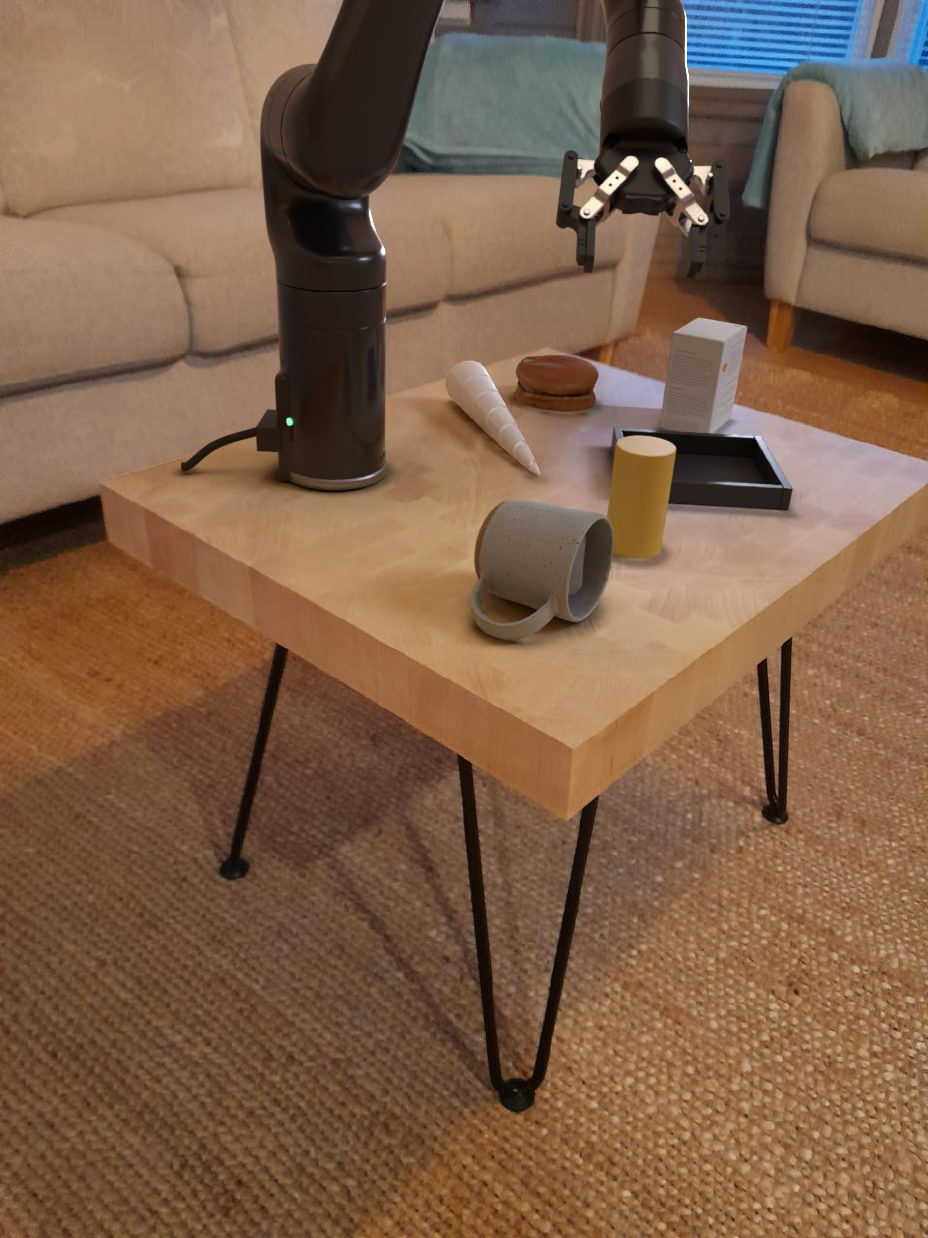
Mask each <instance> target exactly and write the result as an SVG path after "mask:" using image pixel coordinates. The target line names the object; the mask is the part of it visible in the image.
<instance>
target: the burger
mask: <svg viewBox="0 0 928 1238" xmlns="http://www.w3.org/2000/svg"><path fill="white" fill-rule="evenodd" d="M515 375H516V378H517V385H516V386H517V387H516V389H515V390H514V393H513V398H514V401H516V402H519V403H522V404H524V405H527V406H531V407H538V408H542V409H545V410H552V411H561V412H576V411H583V410H586V409H590V408H592V407H593V406H594V405H595V404H596V400H597V397H596V394H595V391H594V388H595V387H596V384H597V382H598V379H599V369H597V367H596V366H595V365H594V364H592V363H591V362H590V361H588V360H586V359H583V358H580V357H576V356H573V355H566V354H546V355H532V356H531V355H530V356H526V357H524V358H522V359H521V360H520V361H519V362H518V364H517V365H516V369H515Z"/></svg>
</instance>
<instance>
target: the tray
mask: <svg viewBox="0 0 928 1238" xmlns="http://www.w3.org/2000/svg"><path fill="white" fill-rule="evenodd" d="M611 436H612V437H611V444H610V445H611V446H610V449H611V453H612V458H613V459H614V456H615V448H616V442H617V441H618V440H619V439H621V438H623V437H628V436H651V437H656V438H660V439H663V440H666V441H668V442H670V443H672V444H673V445H674V446H675V447H676V455H675V461H674V468H673V475H672V481H671V488H670V494H669V501H668V505H669V504H670V505H687V506H704V507H720V508H737V509H738V508H739V509H756V510H774V511H789V508H790V504H791V499H792V496H793V490H794V488H793V487H792V485H791V484H790V482H789V480H788V479H787V477H786V475H785V474H784V472H783V470H782V468H781V467H780V465H779V464H778V462H777V460H776V459H775V457H774V455H773V454H772V452H771V450H770V449H769V447H768V445H767V443H766V442H765V440H764V438H763V437H762V436H761V435H750V434H749V435H745V434H733V433H730V434H729V433H715V432H714V433H697V432H679V431H675V430H662V429H660V430H659V429H644V428H624V427H623V428H622V427H613V429H612V435H611Z"/></svg>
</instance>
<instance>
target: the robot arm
mask: <svg viewBox="0 0 928 1238" xmlns="http://www.w3.org/2000/svg"><path fill="white" fill-rule="evenodd" d="M446 1H447V0H342V1H341V5H340V7H339V10H338V12H337V15H336V18H335V20H334V23H333V25H332V28H331V31H330V34H329V36H328V38H327V41H326V43H325V46H324V47H323V50H322V52H321V54H320V57H319V58H318V61H317V63H303V64H300V65H296V66H294V67H291V68H289V69H288V70H286V71H284V72H283V73H281V74H280V75H279V76H278V77H277V78H276V79H275V81H274V82H273V83H272V84H271V86H270V88H269V90H268V91H267V93H266V96H265V98H264V100H263V104H262V109H261V113H260V122H259V149H260V166H261V167H260V168H261V179H262V181H261V182H262V194H263V203H264V204H263V205H264V207H263V208H264V218H265V229H266V234H267V238H268V242H269V245H270V248H271V252H272V255H273V260H274V268H275V269H274V270H275V271H274V272H275V281H276V282H275V283H276V302H277V303H276V305H277V322H278V323H277V326H278V327H277V328H278V329H277V330H278V331H277V332H278V351H279V352H278V353H279V354H278V355H279V356H278V357H279V370H278V371H277V373H276V374H275V376H274V396H275V409H271V408H269V409H266V411H265V412H264V413H263V415H262V417H261V418H260V420H259V421H258V423H257V424H256V426H255V427H252V428H248V429H243V430H240V431H237V432H233V433H229V434H227V435H224V436H222V437H219V438H216V439H214V440H212V441H210V442H209V443H207V444H206V445H204V446H203V447H202V448H201V449H200V450H198V451H197V452H195V454H194V455H192V457H190V458H189V459H187V460H186V461H181V462H180V470H181V472H188V471H190V470H192V469H194V468H195V467H196V466H197V465H198V464H199V463H200V462H202V461H203V460H204V459H205V458H206V457H207V456H209V455H210V454H212V453H213V452H215V451H216V450H219V449H220V448H223V447H226V446H227V445H230V444H234V443H237V442H242V441H244V440H248V439H252V438H255V441H256V451H257V452H264V453H265V452H267V453H277V461H278V463H277V464H278V480H279V481H280V482H281V481H282V482H290V483H294V484H296V485H298V486H301V487H305V488H309V489H316V490H323V491H324V490H325V491H346V490H354V489H360V488H364V487H365V488H366V487H368V486H371V485H374V484H376V483H378V482H379V481H381V480H382V479H384V477H385V475H386V473H387V459H386V455H387V454H386V451H387V450H386V393H387V391H386V388H387V387H386V386H387V385H386V382H387V379H386V378H387V371H386V370H387V253H386V249H385V247H384V244H383V243H382V241H381V239H380V237H379V235H378V233H377V230H376V228H375V225H374V222H373V217H372V213H371V203H370V202H371V201H370V200H371V199H370V194H372V193H374V192H375V191H376V190H378V189H379V188H380V187H381V186H382V184H383V183H385V181H386V180H387V179H388V178H389V177H390V175H391V173H392V172H393V169H394V168H395V166H396V164H397V162H398V160H399V157H400V154H401V152H402V149H403V146H404V142H405V139H406V135H407V132H408V128H409V126H410V121H411V117H412V112H413V109H414V106H415V102H416V98H417V94H418V90H419V88H420V87H419V86H420V83H421V79H422V77H423V73H424V71H423V70H424V67H425V64H426V61H427V57H428V53H429V50H430V46H431V43H432V39H433V38H434V37H433V36H434V33H435V30H436V26H437V24H438V21H439V19H440V17H441V14H442V12H443V8H444V6H445V3H446ZM599 2H600V5H601V8H602V12H603V13H602V14H603V16H604V22H605V23H604V24H605V33H606V35H605V36H606V37H605V38H606V40H605V41H606V43H605V66H604V72H603V77H602V83H601V96H600V101H599V111H600V123H599V125H600V126H599V147H598V149H599V150H598V156H597V157H596V158H595V160H594V159H593V160H592V159H585V158H579V153H578V152H577V151H576V150H573V149H569V150H566V151H565V152H564V155H563V162H562V168H561V169H562V170H561V176H560V186H559V193H558V202H557V210H556V216H555V217H556V219H555V225H556V226H557V228H559V229H561V230H562V229H563V230H564V229H568V228H569V229H571V230H573V231H574V232H575V234H576V243H575V244H576V247H575V248H576V249H575V262H576V265H577V266H579V267H583V269H582V271H583V273H585V274H593V269H594V265H595V255H596V254H595V253H596V233H597V232H596V230H597V229H596V228H597V227H598V226H599V225H600V224H601V223H605V222H606V221H607V220H608V219H609V218H610V217H611V215H612V214H613V213H614V212H615V211H616V210H618V211H621V215H637V214H643V215H646V216H653V217H659V215H660V214H662V215H664V217H665V218H666V219H667V220H668V221H669V222H670V224H671V225H672V226H673V227H677V228H679V230H680V231H681V232H682V233H683V234H684V235H685V237H686V239H685V243H684V244H685V247H684V254H685V255H684V268H685V269H684V279H685V280H695V278H696V275H697V274H701V273H702V270H703V268H704V266H705V263H706V261H707V238H708V237H712V238H716V239H718V238H721V237H722V236H723V235H724V232H725V228H726V226H727V223H728V221H729V219H730V216H731V207H730V206H731V204H730V193H729V178H728V177H729V176H728V164H727V162H726V160H725V159H722V158H716V159H714V160H713V161H712V163H711V165H694V164H693V162H692V160H691V158H690V156H689V108H690V107H689V103H690V101H689V100H690V99H689V98H690V97H689V95H690V94H689V92H690V91H689V90H690V85H689V84H690V83H689V72H688V67H687V16H686V10H685V8H684V5H683V3H682V1H681V0H599ZM589 177H590V178H591V177H592V179H593V181H594V183H595V184H596V185H597V188H596V190H595V192H594V194H593V195H592V196H591V198H589V199H588V201H587V202H585V204H584V205H583V206H582V207H581V206H578V205H576V204H574V200H575V191H576V189H579V188H580V187H582V186H583V185H584V184H585V182H586V179H588V178H589ZM692 183H695V184H696V185H697V186H698V188H699V191H700V192H701V195H702V196H706V206H707V207H706V208H707V213H706V212H705V211H704V210H703V208H702V207H701V206H700V205H699V204H698V202H697V201H696V197H695V194H694V193H693V191H692V190H691V189H690V188H689V186H690V185H691V184H692Z"/></svg>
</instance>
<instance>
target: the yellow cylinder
mask: <svg viewBox="0 0 928 1238" xmlns="http://www.w3.org/2000/svg"><path fill="white" fill-rule="evenodd" d="M675 455H676V447H675V446H674V445H673V444H672V443H670V442H668V441H666V440H663V439H660V438H656V437H651V436H628V437H623V438H621V439H619V440H618V441H617V442H616V448H615V456H614V458H613V465H612V472H611V481H610V490H609V497H608V507H607V514H606V517H607V518H608V519H609V521H610V523H611V525H612V528H613V536H614V547H613V555H617V556H619V557H622V558H627V559H635V560H637V559H638V560H639V559H641V560H642V559H650V558H653V557H656V556H658V555H659V554H660V553H661V552H662V545H663V540H664V532H665V526H666V520H667V514H668V507H669V504H668V501H669V494H670V488H671V481H672V475H673V468H674V461H675Z"/></svg>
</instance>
